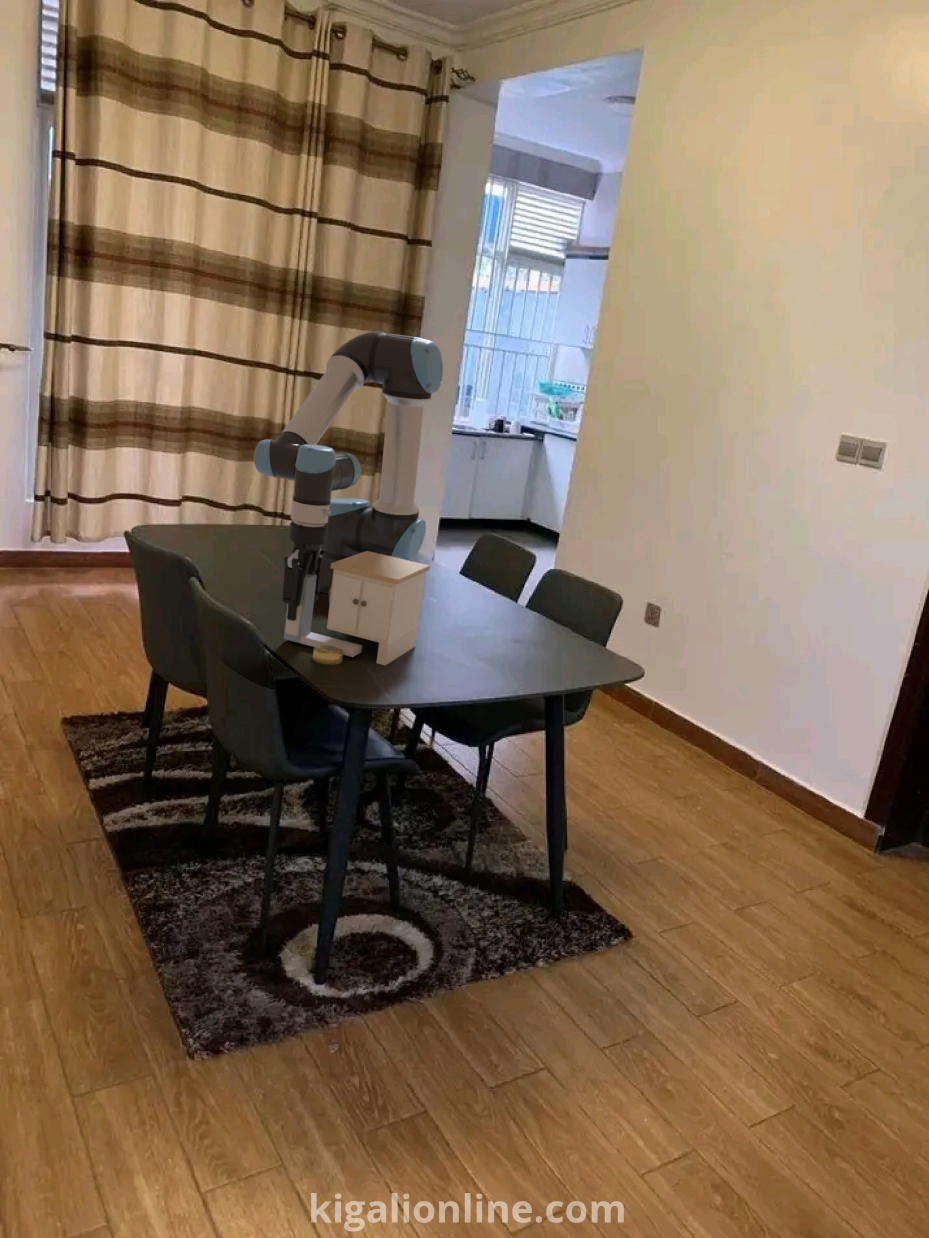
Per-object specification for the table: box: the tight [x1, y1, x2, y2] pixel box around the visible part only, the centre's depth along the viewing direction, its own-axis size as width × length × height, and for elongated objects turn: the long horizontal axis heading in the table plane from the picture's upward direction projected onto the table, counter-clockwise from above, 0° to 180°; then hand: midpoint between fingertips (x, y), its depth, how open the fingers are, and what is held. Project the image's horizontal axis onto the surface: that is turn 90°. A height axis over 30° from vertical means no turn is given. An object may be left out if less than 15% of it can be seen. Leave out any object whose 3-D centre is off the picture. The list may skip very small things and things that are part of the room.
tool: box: [283, 573, 363, 658], centre depth 193 cm, size 16×4×14 cm, turn 71°
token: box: [312, 646, 344, 666], centre depth 189 cm, size 6×6×2 cm
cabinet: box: [326, 551, 431, 666], centre depth 197 cm, size 15×18×18 cm
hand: (297, 631), depth 196 cm, fingers closed on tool, 4 cm apart
